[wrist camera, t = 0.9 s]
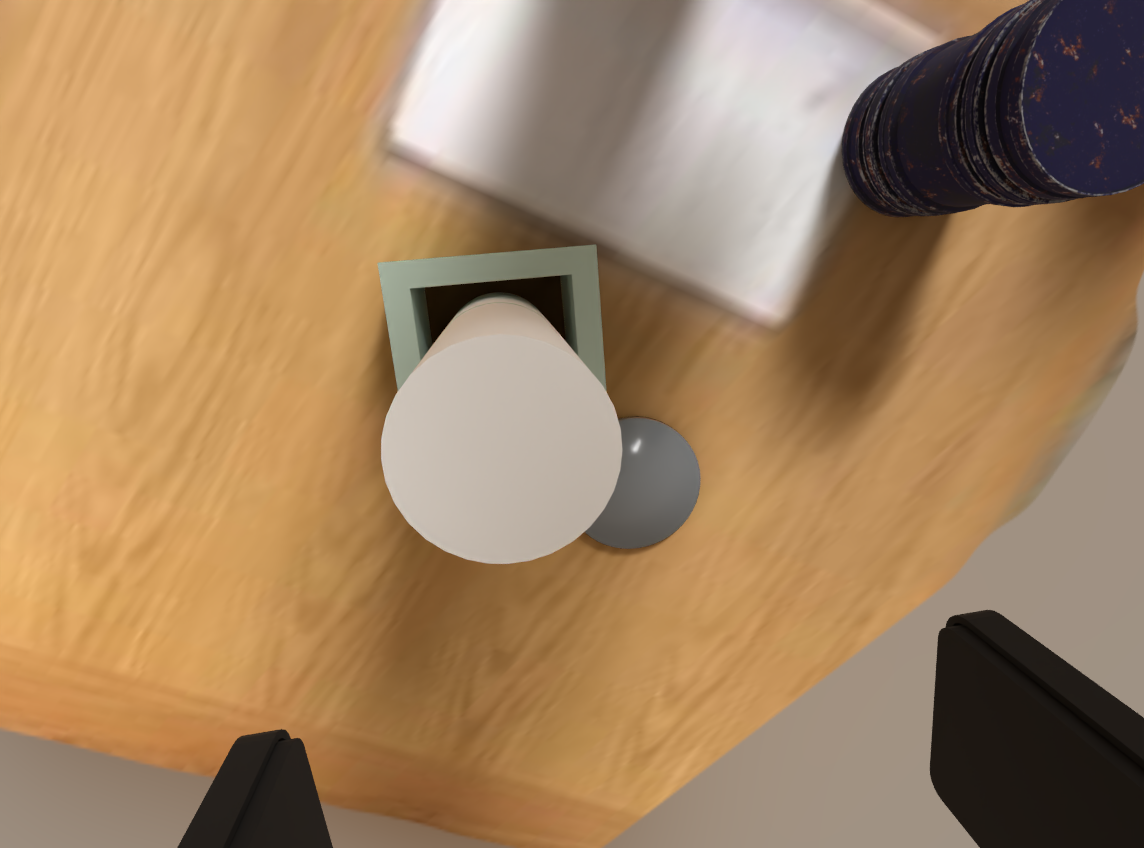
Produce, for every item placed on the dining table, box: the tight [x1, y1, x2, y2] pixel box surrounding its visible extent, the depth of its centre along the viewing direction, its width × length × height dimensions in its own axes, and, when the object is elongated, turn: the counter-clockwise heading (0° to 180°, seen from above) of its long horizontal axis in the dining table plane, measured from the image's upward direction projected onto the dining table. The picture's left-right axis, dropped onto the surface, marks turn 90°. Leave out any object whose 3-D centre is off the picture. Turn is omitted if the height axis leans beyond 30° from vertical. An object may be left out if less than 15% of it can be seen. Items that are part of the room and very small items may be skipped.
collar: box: [378, 245, 606, 391], centre depth 39 cm, size 12×12×7 cm
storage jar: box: [842, 0, 1144, 217], centre depth 35 cm, size 10×10×15 cm
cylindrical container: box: [381, 292, 622, 564], centre depth 31 cm, size 7×7×25 cm
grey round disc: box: [585, 416, 700, 549], centre depth 46 cm, size 10×10×1 cm
